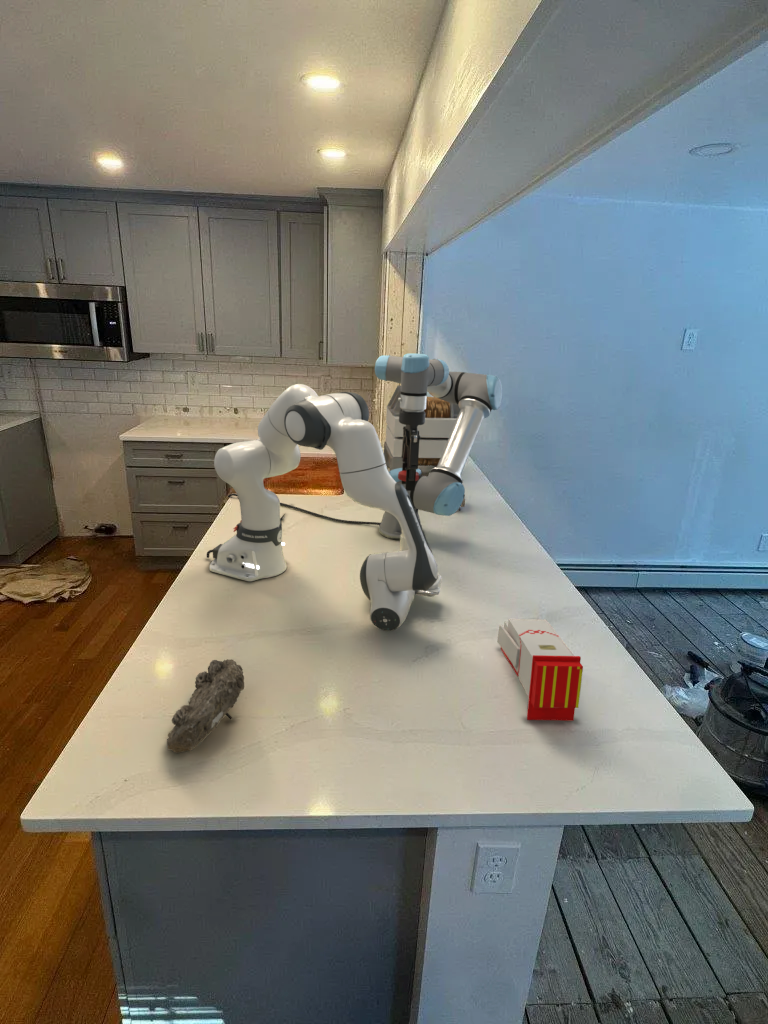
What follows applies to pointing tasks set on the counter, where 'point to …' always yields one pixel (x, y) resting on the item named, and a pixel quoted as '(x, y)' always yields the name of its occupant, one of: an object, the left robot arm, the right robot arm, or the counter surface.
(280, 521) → the feather
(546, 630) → the toy
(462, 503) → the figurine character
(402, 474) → the lid
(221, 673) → the fossil
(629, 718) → the counter surface
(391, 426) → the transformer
